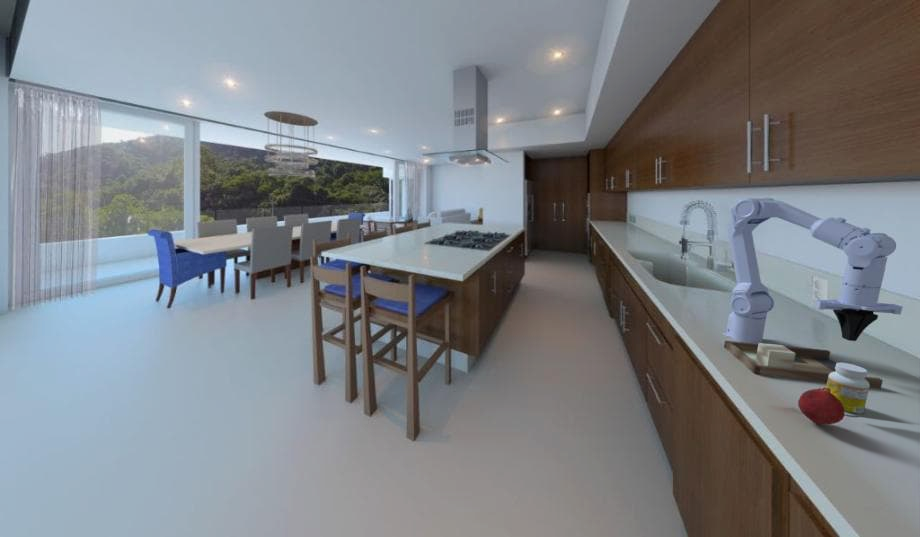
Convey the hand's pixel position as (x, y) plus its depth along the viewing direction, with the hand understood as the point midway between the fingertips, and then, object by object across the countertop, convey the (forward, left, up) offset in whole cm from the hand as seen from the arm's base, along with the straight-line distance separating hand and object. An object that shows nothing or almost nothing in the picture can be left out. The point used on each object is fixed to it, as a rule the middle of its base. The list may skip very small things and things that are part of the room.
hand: (848, 339), depth 77 cm
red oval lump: (+25, -19, -10) cm, 33 cm away
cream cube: (+2, -15, -8) cm, 17 cm away
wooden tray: (0, -10, -9) cm, 14 cm away
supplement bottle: (+18, -11, -10) cm, 23 cm away
